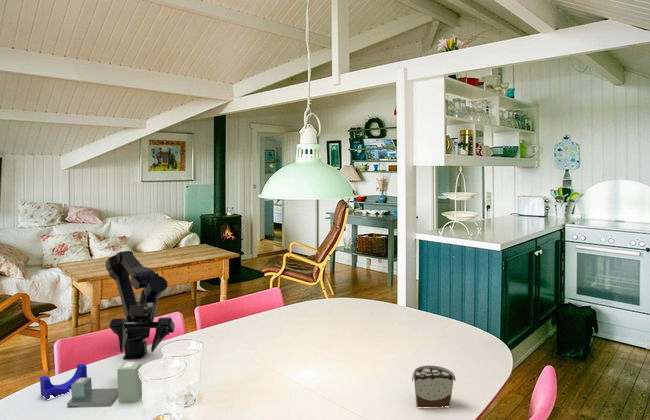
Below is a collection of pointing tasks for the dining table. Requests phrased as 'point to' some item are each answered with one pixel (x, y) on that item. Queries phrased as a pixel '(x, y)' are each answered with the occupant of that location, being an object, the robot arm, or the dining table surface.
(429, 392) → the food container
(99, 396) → the grey base with block
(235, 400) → the dining table surface
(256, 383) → the dining table surface
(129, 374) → the block
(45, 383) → the blue curved cradle
